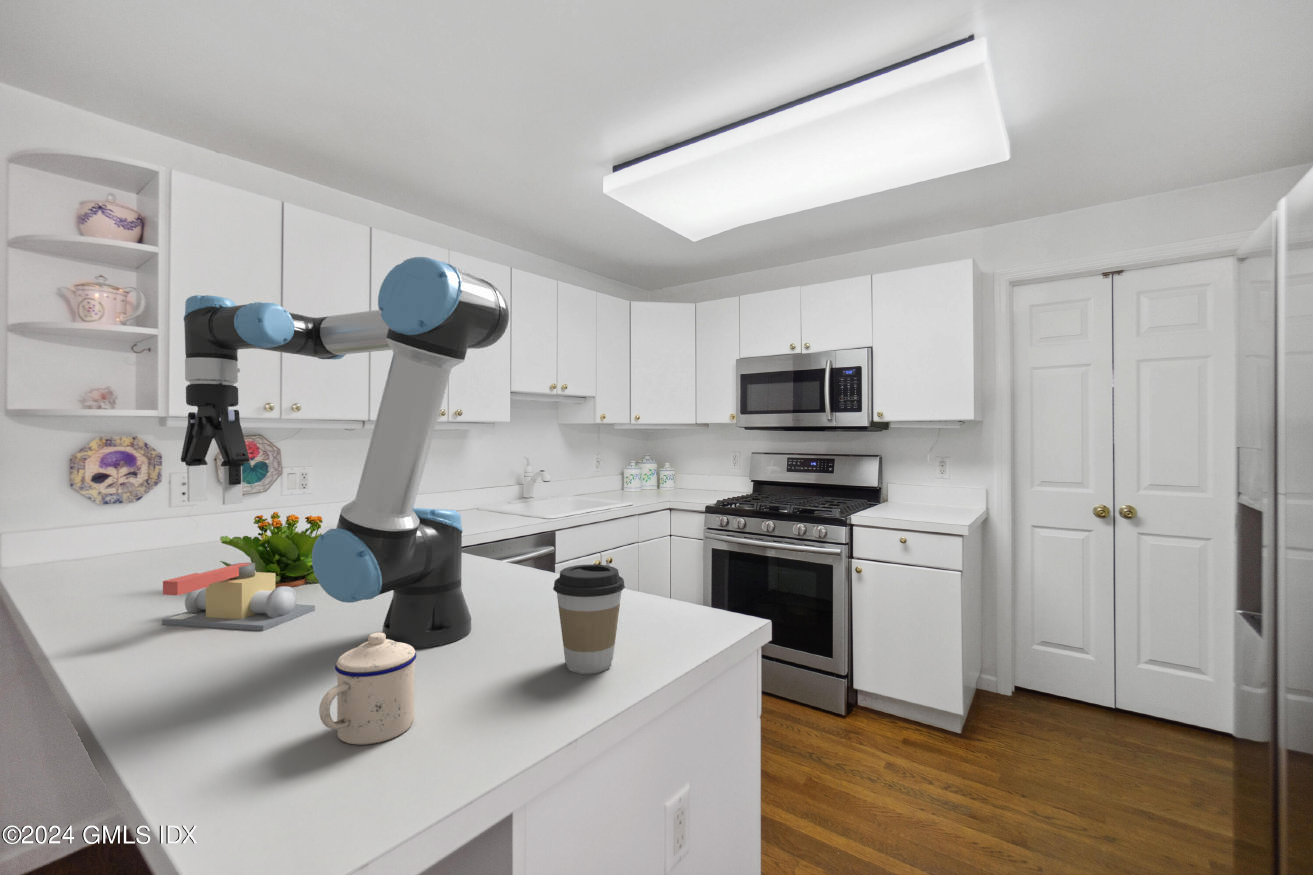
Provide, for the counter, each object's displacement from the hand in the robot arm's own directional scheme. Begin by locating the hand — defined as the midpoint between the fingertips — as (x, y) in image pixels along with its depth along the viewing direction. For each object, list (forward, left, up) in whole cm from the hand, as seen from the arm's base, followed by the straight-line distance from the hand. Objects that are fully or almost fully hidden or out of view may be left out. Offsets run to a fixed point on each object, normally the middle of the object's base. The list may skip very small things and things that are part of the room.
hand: (214, 502), depth 105 cm
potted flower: (+17, -34, -24) cm, 45 cm away
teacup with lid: (-49, +26, -24) cm, 61 cm away
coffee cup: (-70, +1, -24) cm, 74 cm away
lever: (+5, -5, -16) cm, 18 cm away
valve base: (+5, -11, -24) cm, 27 cm away
